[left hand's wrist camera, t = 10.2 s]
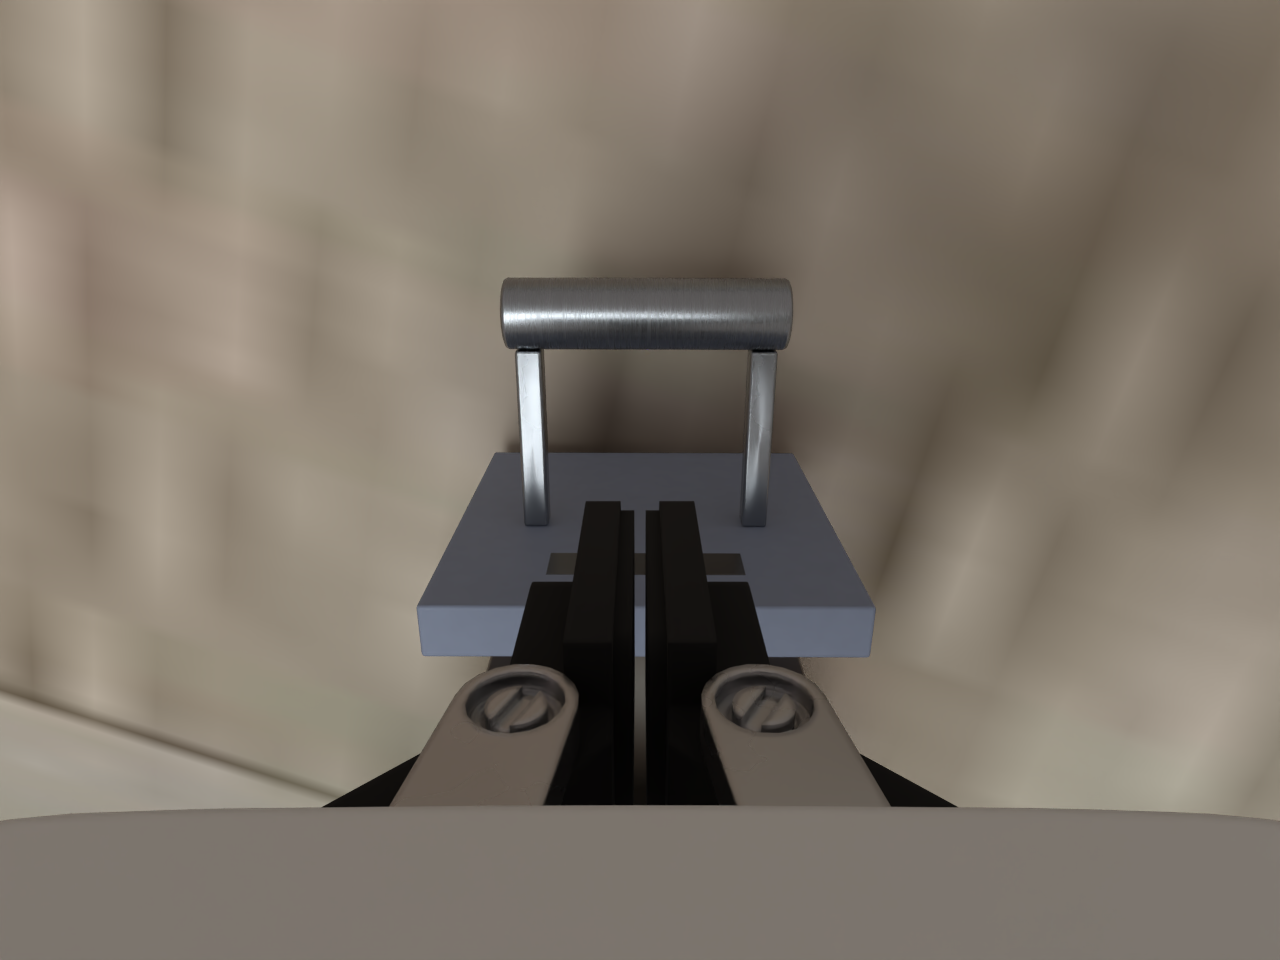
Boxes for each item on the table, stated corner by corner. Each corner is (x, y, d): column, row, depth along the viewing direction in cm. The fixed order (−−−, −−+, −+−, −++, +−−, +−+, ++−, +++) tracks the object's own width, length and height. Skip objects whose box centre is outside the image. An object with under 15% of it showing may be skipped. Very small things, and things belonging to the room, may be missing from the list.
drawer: (481, 253, 22) (381, 308, 14) (809, 255, 22) (914, 310, 14) (523, 882, 31) (478, 1159, 22) (760, 883, 31) (806, 1159, 22)
